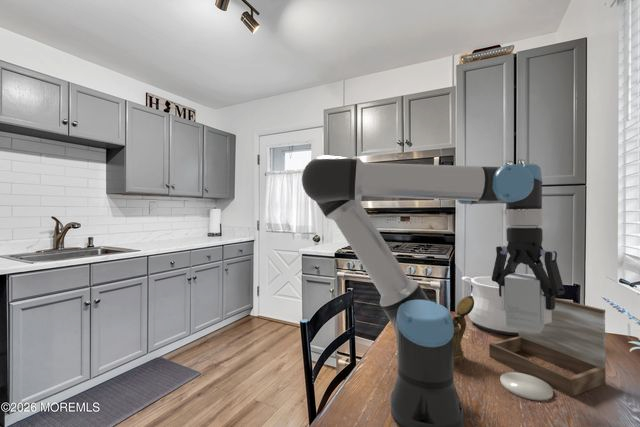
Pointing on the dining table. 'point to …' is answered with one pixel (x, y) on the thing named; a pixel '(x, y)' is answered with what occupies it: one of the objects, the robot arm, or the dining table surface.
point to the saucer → (526, 386)
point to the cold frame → (561, 348)
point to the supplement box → (523, 302)
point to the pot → (488, 306)
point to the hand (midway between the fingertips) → (525, 315)
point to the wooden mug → (461, 326)
